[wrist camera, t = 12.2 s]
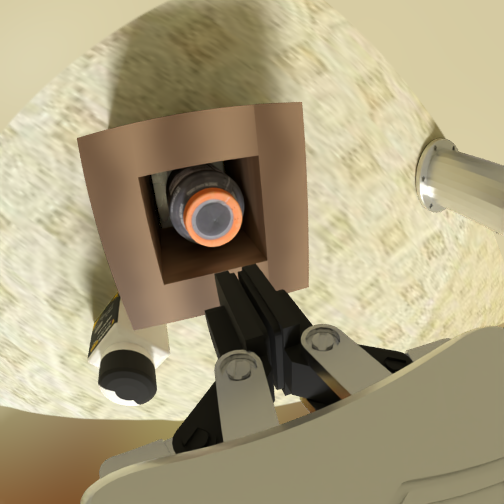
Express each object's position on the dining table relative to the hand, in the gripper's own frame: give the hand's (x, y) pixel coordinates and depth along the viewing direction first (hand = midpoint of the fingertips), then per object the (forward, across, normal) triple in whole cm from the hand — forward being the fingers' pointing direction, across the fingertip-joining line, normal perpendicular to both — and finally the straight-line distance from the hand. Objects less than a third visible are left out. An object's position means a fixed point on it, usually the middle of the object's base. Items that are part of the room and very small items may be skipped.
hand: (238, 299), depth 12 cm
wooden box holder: (+21, -1, 0) cm, 21 cm away
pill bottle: (+21, -1, 0) cm, 21 cm away
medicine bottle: (+22, +10, +15) cm, 28 cm away
